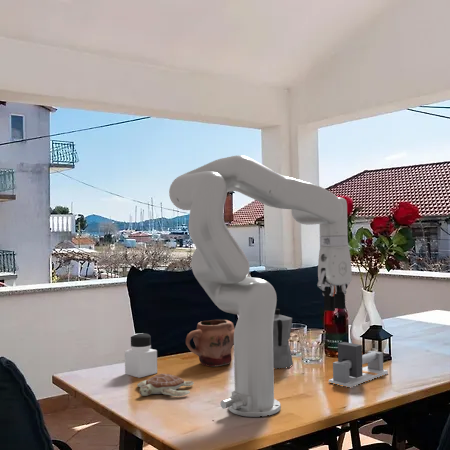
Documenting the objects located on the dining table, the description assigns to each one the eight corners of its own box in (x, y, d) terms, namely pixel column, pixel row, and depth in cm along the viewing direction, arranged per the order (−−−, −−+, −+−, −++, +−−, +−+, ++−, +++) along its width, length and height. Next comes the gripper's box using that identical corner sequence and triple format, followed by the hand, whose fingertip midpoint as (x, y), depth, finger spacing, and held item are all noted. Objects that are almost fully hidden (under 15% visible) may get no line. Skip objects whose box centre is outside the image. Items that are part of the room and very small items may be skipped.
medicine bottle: (157, 373, 164) (157, 333, 164) (139, 378, 159) (138, 337, 159) (143, 369, 169) (142, 331, 169) (124, 374, 164) (124, 334, 164)
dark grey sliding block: (356, 377, 149) (356, 346, 149) (338, 373, 153) (337, 343, 153) (362, 375, 151) (362, 344, 151) (344, 371, 155) (343, 342, 155)
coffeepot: (262, 360, 178) (261, 306, 178) (290, 360, 178) (289, 305, 178) (265, 372, 162) (264, 313, 163) (296, 372, 162) (295, 312, 162)
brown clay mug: (201, 374, 162) (200, 328, 162) (175, 367, 171) (175, 323, 171) (247, 362, 176) (246, 319, 176) (221, 356, 185) (220, 315, 185)
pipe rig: (350, 388, 145) (349, 365, 145) (328, 383, 150) (328, 361, 150) (387, 373, 159) (387, 352, 159) (366, 369, 164) (366, 349, 164)
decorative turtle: (118, 393, 146) (118, 374, 146) (164, 379, 158) (163, 362, 158) (163, 406, 134) (163, 386, 134) (209, 391, 146) (208, 372, 146)
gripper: (327, 243, 139) (328, 314, 139) (362, 241, 150) (363, 307, 150) (303, 243, 144) (305, 311, 144) (339, 241, 156) (340, 305, 156)
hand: (334, 308), depth 147 cm, fingers open, 4 cm apart
